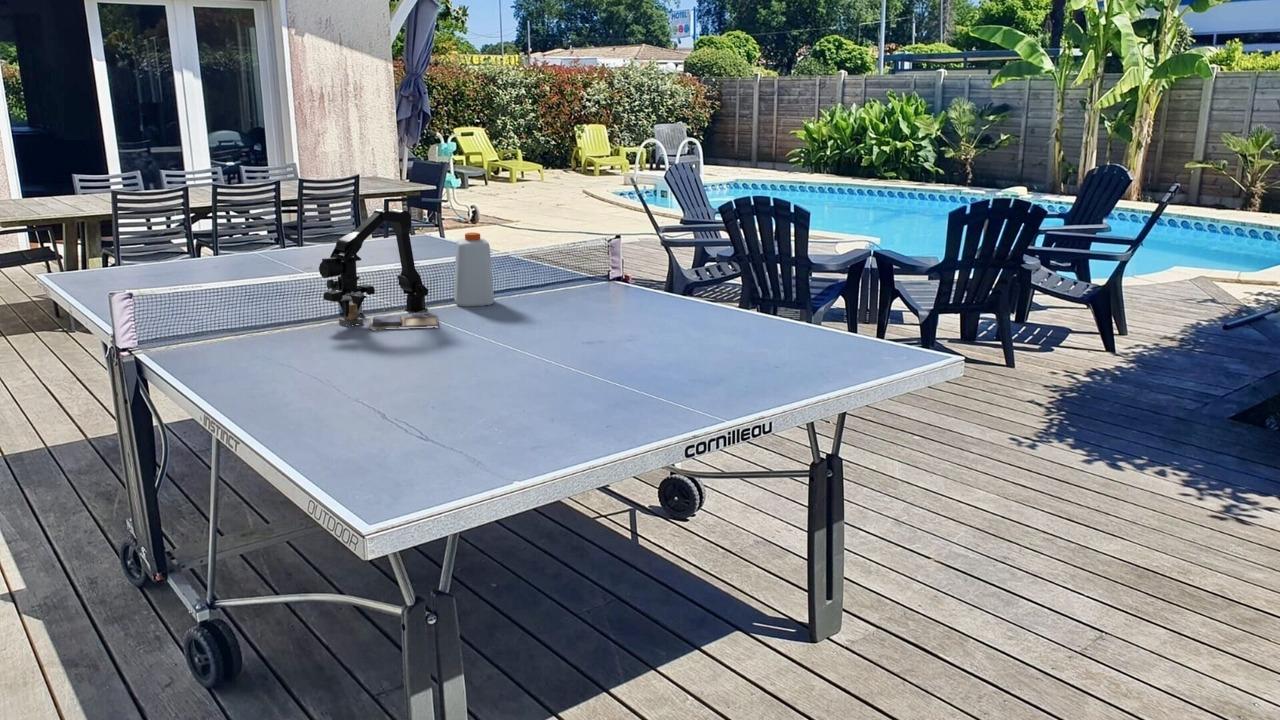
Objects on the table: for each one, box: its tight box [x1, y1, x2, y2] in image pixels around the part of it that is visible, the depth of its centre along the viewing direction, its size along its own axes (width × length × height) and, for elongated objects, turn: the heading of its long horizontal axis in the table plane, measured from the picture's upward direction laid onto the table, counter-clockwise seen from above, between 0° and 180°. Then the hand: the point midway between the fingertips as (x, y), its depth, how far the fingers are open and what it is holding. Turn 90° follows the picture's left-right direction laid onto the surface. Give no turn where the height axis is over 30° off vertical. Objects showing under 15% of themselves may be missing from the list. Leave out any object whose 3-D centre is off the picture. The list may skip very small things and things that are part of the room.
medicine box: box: [337, 290, 363, 314], centre depth 381 cm, size 8×4×9 cm, turn 62°
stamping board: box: [369, 315, 439, 330], centre depth 367 cm, size 24×12×2 cm, turn 103°
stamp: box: [338, 303, 364, 327], centre depth 366 cm, size 6×6×8 cm
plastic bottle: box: [453, 231, 495, 308], centre depth 400 cm, size 15×15×28 cm
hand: (350, 315), depth 366 cm, fingers closed on stamp, 3 cm apart
